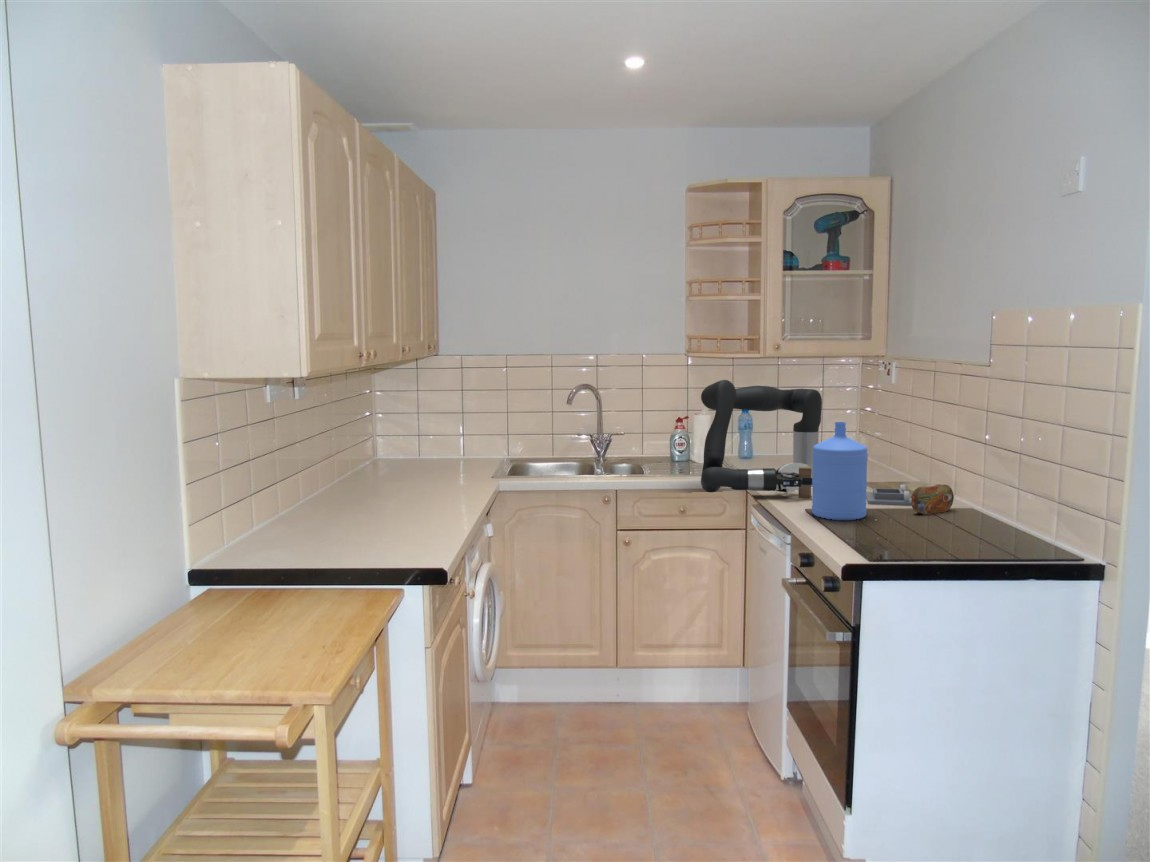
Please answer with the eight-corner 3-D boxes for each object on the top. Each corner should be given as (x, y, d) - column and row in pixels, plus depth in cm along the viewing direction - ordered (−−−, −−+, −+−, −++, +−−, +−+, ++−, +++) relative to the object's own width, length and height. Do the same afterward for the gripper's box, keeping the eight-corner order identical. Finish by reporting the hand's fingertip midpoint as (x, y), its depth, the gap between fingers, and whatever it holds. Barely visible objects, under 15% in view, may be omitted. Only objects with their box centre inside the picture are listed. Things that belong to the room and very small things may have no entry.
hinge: (787, 492, 277) (779, 464, 278) (777, 495, 281) (769, 467, 282) (818, 486, 286) (810, 459, 288) (808, 489, 290) (800, 462, 292)
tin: (917, 516, 239) (917, 488, 238) (908, 514, 242) (909, 486, 241) (954, 510, 245) (955, 483, 244) (945, 508, 248) (946, 481, 247)
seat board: (865, 494, 270) (865, 483, 270) (906, 496, 267) (907, 484, 266) (868, 504, 256) (868, 491, 256) (912, 505, 253) (912, 493, 252)
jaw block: (798, 495, 271) (798, 466, 270) (810, 496, 270) (811, 466, 269) (798, 498, 267) (798, 468, 266) (810, 498, 266) (811, 468, 265)
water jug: (854, 523, 231) (856, 427, 228) (802, 516, 241) (804, 423, 238) (874, 513, 243) (876, 421, 240) (824, 507, 253) (825, 418, 250)
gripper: (763, 472, 262) (816, 472, 260) (758, 464, 276) (808, 464, 274) (763, 494, 263) (816, 494, 261) (758, 486, 277) (808, 486, 275)
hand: (812, 479), depth 268 cm, fingers open, 6 cm apart
